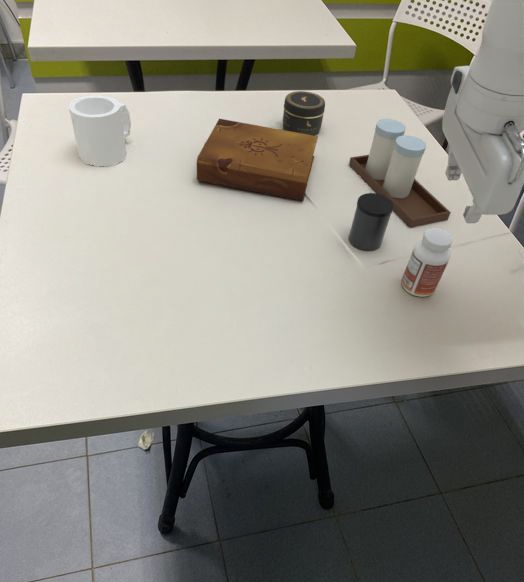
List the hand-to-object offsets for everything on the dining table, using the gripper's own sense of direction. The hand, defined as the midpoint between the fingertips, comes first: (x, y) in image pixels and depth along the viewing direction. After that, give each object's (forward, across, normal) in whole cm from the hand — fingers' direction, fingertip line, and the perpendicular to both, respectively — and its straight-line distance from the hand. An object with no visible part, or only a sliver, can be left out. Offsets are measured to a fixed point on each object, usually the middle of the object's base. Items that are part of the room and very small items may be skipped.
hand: (460, 198), depth 70 cm
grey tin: (+22, +15, +8) cm, 28 cm away
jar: (+25, +60, +16) cm, 67 cm away
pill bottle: (+22, +3, 0) cm, 22 cm away
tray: (+24, +33, -3) cm, 41 cm away
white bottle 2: (+24, +33, -3) cm, 41 cm away
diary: (+22, +40, +27) cm, 53 cm away
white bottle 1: (+24, +40, 0) cm, 47 cm away
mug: (+20, +44, +61) cm, 78 cm away
